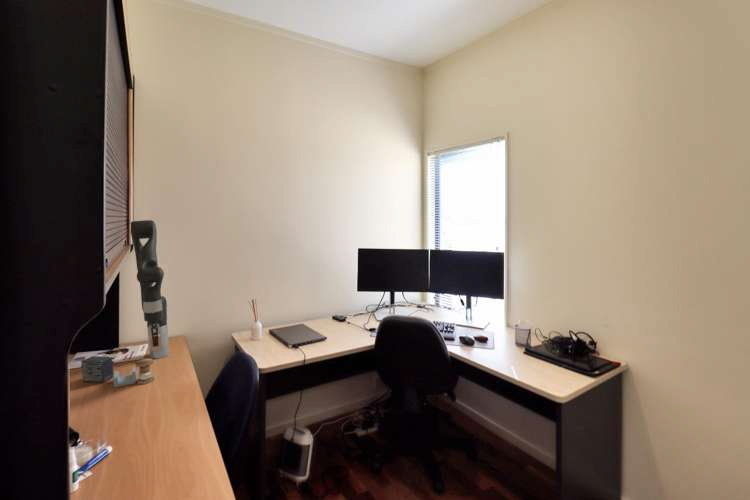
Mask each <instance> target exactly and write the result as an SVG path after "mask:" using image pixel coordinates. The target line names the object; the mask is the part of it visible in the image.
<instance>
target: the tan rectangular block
mask: <svg viewBox="0 0 750 500" xmlns="http://www.w3.org/2000/svg"><path fill="white" fill-rule="evenodd" d="M155 336H157V335H155ZM158 337H159V338H158V346H156V347H153V339H152V336H150V342H151V350H157V349H161V341H160V335H158Z"/></svg>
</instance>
